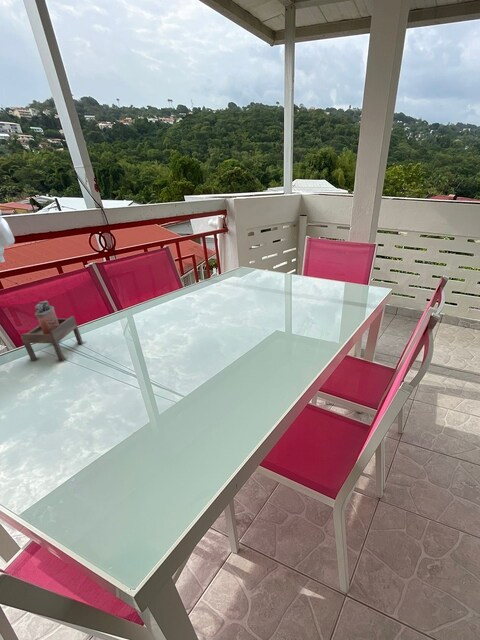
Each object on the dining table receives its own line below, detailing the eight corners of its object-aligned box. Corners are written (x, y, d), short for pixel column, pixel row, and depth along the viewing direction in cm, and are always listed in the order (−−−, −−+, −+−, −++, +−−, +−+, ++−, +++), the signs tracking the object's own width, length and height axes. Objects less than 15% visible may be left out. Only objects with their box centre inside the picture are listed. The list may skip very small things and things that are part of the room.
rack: (31, 360, 108) (17, 331, 103) (54, 342, 120) (43, 315, 114) (63, 360, 109) (51, 332, 104) (83, 342, 121) (73, 316, 115)
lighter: (53, 327, 114) (41, 298, 108) (63, 327, 114) (53, 298, 108) (41, 336, 107) (28, 306, 101) (52, 336, 108) (40, 306, 102)
